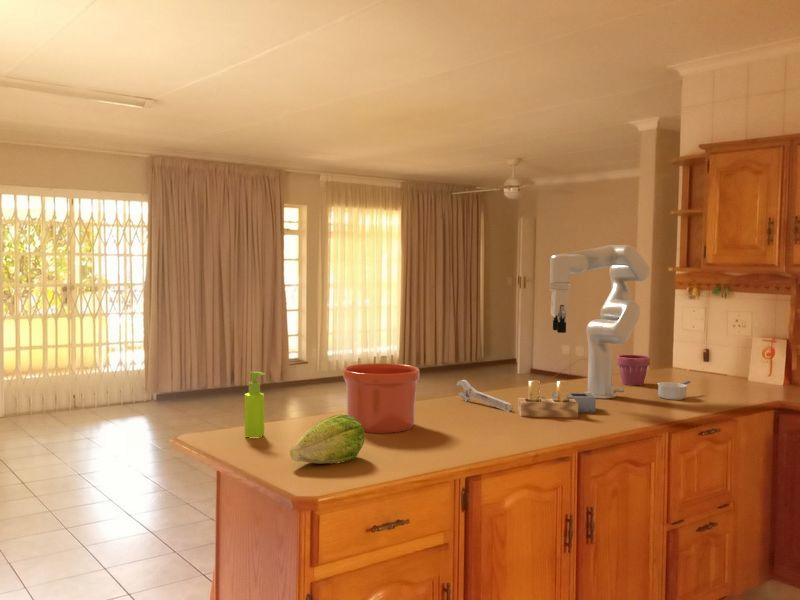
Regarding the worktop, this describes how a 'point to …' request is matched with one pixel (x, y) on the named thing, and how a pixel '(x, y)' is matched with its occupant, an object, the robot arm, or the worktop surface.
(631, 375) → the plant pot
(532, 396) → the amber rod
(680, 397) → the saucepan
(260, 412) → the soap dispenser
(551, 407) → the rack
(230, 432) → the worktop surface
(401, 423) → the pot
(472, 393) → the wrench
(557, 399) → the gold cylinder
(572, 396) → the socket block
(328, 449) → the green papaya
